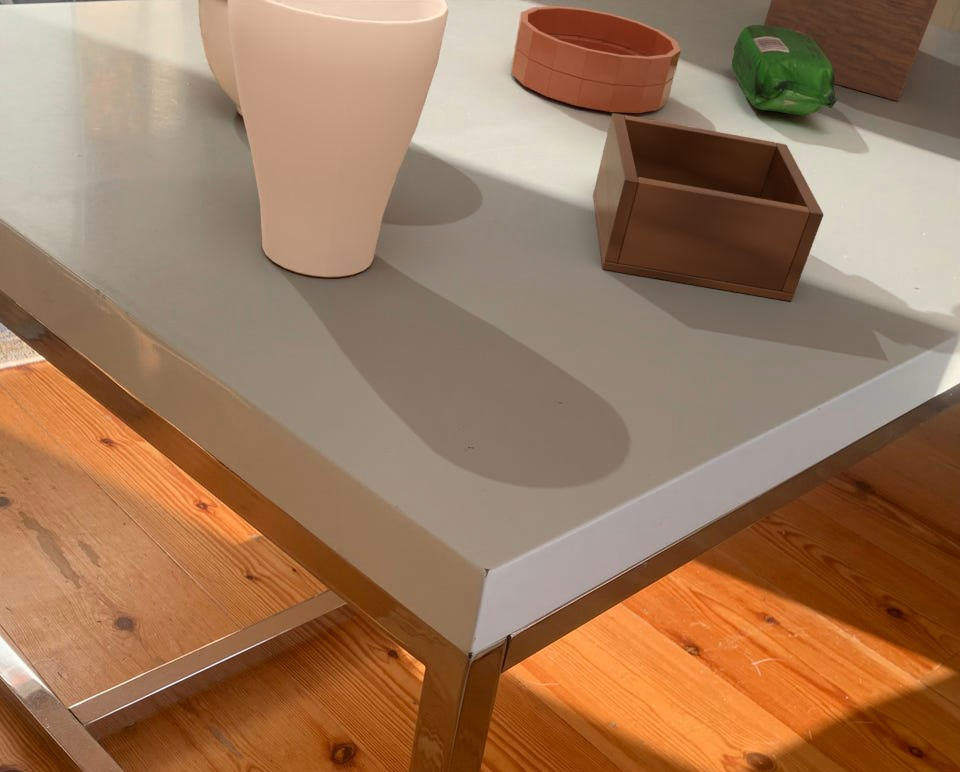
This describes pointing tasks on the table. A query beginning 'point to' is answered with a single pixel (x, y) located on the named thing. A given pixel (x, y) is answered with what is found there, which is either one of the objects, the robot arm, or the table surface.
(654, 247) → the wooden holder
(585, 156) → the table surface
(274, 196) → the cup
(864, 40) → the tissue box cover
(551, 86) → the terracotta bowl
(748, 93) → the snack package
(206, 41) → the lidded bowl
